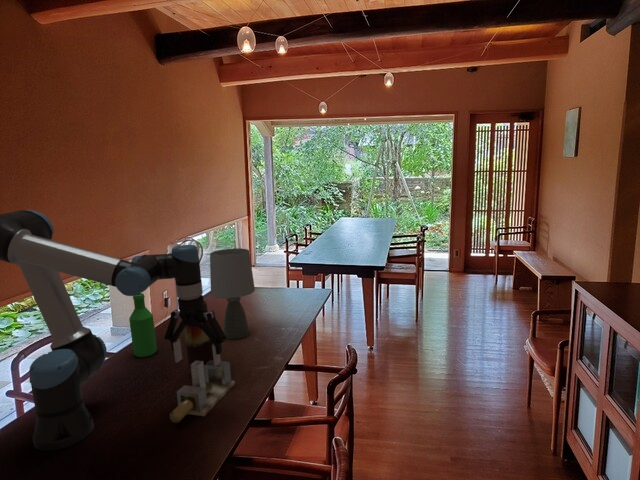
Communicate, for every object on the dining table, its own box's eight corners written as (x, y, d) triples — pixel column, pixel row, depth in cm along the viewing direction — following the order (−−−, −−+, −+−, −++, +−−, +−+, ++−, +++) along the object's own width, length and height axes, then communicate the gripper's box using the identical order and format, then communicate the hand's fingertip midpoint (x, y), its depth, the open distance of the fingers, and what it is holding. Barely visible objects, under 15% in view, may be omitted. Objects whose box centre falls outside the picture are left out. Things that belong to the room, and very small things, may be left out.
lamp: (207, 342, 192) (199, 256, 186) (226, 326, 210) (219, 247, 204) (248, 344, 188) (241, 257, 181) (264, 327, 206) (258, 247, 199)
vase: (189, 381, 158) (181, 309, 153) (189, 368, 168) (182, 300, 164) (221, 376, 161) (215, 305, 156) (219, 363, 171) (213, 296, 167)
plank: (204, 416, 136) (203, 412, 136) (175, 412, 139) (174, 408, 138) (235, 384, 155) (234, 380, 154) (208, 381, 157) (208, 378, 157)
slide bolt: (181, 423, 130) (176, 384, 128) (170, 422, 131) (165, 383, 129) (212, 392, 147) (209, 357, 145) (203, 391, 148) (199, 356, 146)
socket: (225, 386, 151) (223, 367, 150) (205, 384, 153) (204, 365, 152) (231, 380, 155) (229, 361, 154) (211, 378, 157) (210, 360, 156)
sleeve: (200, 412, 136) (198, 394, 135) (178, 409, 138) (176, 391, 137) (206, 405, 140) (205, 387, 139) (185, 402, 142) (184, 385, 141)
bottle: (149, 358, 178) (141, 297, 174) (129, 357, 180) (121, 297, 176) (161, 349, 187) (154, 291, 182) (142, 348, 189) (135, 290, 184)
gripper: (233, 293, 137) (239, 359, 141) (162, 291, 144) (170, 354, 148) (221, 301, 130) (228, 370, 134) (147, 298, 137) (156, 364, 141)
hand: (197, 362), depth 141 cm, fingers open, 13 cm apart
